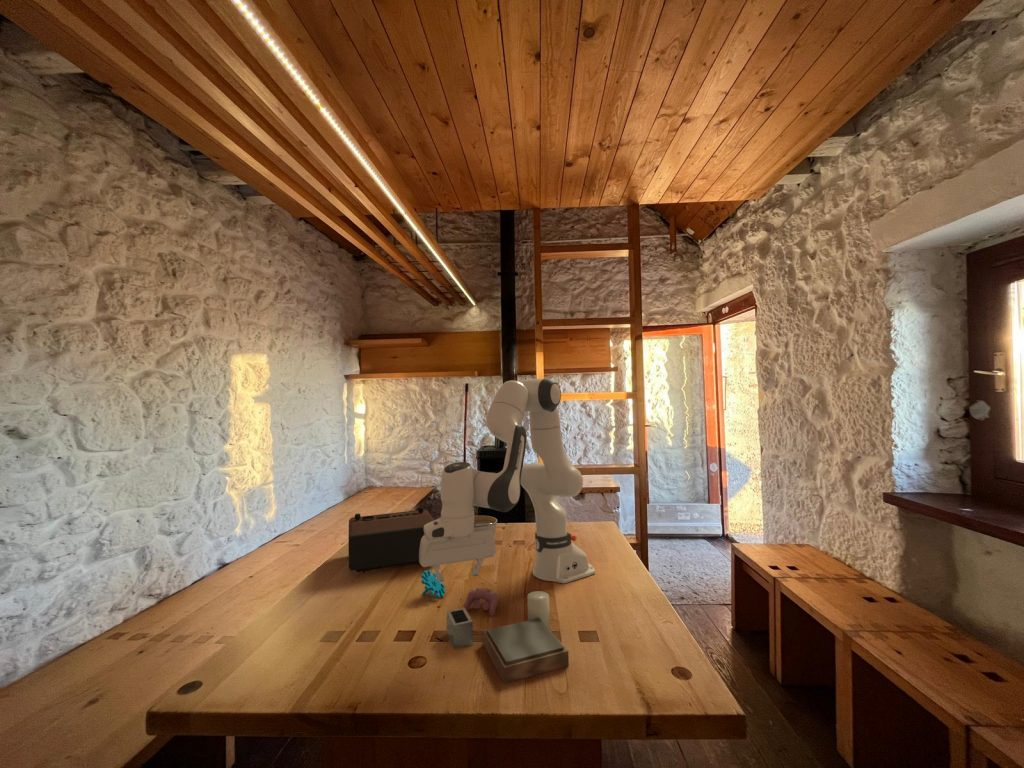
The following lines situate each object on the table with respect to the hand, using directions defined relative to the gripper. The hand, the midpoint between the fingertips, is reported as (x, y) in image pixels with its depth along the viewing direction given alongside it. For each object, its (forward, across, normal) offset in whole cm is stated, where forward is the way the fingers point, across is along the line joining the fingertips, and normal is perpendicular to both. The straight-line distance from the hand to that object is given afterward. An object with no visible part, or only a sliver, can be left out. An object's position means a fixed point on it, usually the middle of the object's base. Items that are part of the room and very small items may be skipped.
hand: (458, 577), depth 112 cm
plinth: (+16, -13, +13) cm, 24 cm away
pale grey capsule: (+16, -22, +2) cm, 27 cm away
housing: (+16, 0, 0) cm, 16 cm away
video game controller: (+16, -10, -13) cm, 23 cm away
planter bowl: (+16, -25, -67) cm, 73 cm away
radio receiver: (+16, +10, -65) cm, 68 cm away
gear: (+16, +1, -28) cm, 33 cm away
